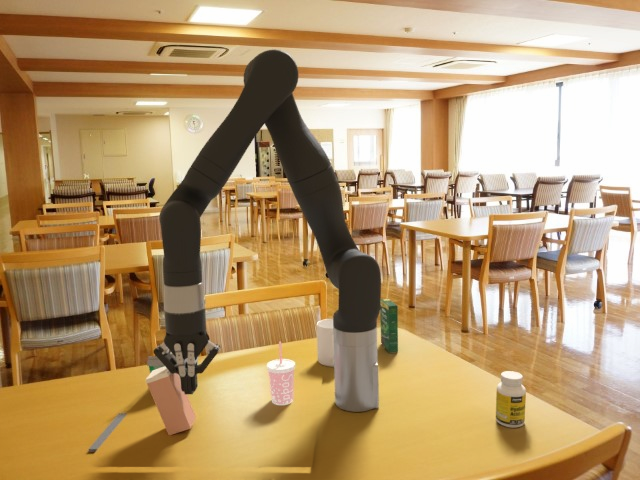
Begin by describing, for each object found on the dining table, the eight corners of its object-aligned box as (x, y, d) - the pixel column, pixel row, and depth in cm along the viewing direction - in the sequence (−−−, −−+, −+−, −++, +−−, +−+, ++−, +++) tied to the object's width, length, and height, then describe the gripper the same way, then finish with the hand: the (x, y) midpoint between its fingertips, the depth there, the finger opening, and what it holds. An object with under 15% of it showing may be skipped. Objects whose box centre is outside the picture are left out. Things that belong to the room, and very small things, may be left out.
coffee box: (379, 343, 153) (379, 298, 151) (389, 342, 153) (389, 297, 151) (388, 353, 145) (387, 306, 143) (398, 352, 145) (398, 305, 143)
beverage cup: (270, 411, 114) (267, 348, 112) (266, 399, 120) (263, 338, 118) (299, 407, 115) (296, 344, 113) (294, 395, 121) (291, 335, 119)
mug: (353, 372, 133) (352, 332, 131) (319, 374, 133) (318, 333, 131) (347, 354, 145) (347, 317, 143) (317, 356, 144) (315, 319, 143)
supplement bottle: (510, 431, 103) (512, 382, 102) (489, 419, 108) (490, 372, 106) (530, 424, 106) (532, 376, 104) (509, 412, 110) (510, 367, 109)
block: (196, 417, 108) (173, 363, 106) (190, 428, 104) (167, 372, 102) (175, 424, 108) (152, 370, 107) (168, 435, 104) (145, 379, 102)
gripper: (143, 312, 99) (149, 401, 101) (215, 311, 98) (219, 401, 101) (156, 301, 106) (162, 384, 109) (223, 300, 106) (227, 384, 108)
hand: (189, 392), depth 105 cm, fingers closed
